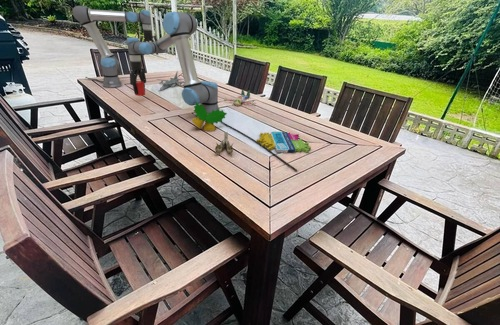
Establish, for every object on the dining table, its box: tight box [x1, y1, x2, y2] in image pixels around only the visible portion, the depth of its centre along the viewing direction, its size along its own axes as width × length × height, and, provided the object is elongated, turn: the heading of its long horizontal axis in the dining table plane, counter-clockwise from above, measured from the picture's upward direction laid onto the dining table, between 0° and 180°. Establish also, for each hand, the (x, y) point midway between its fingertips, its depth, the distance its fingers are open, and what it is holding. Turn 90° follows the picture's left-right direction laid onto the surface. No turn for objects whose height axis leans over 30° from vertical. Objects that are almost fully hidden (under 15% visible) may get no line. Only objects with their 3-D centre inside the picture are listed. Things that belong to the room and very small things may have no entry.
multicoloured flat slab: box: [256, 131, 312, 154], centre depth 152 cm, size 26×2×30 cm
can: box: [134, 80, 146, 97], centre depth 198 cm, size 7×7×10 cm
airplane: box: [156, 70, 185, 92], centre depth 249 cm, size 38×31×10 cm
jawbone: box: [214, 131, 234, 156], centre depth 136 cm, size 9×15×10 cm
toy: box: [223, 89, 257, 106], centre depth 219 cm, size 28×7×30 cm
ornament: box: [191, 102, 228, 132], centre depth 162 cm, size 21×8×15 cm, turn 105°
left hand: (150, 54), depth 247 cm, fingers open, 13 cm apart
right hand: (140, 92), depth 200 cm, fingers closed on can, 7 cm apart
